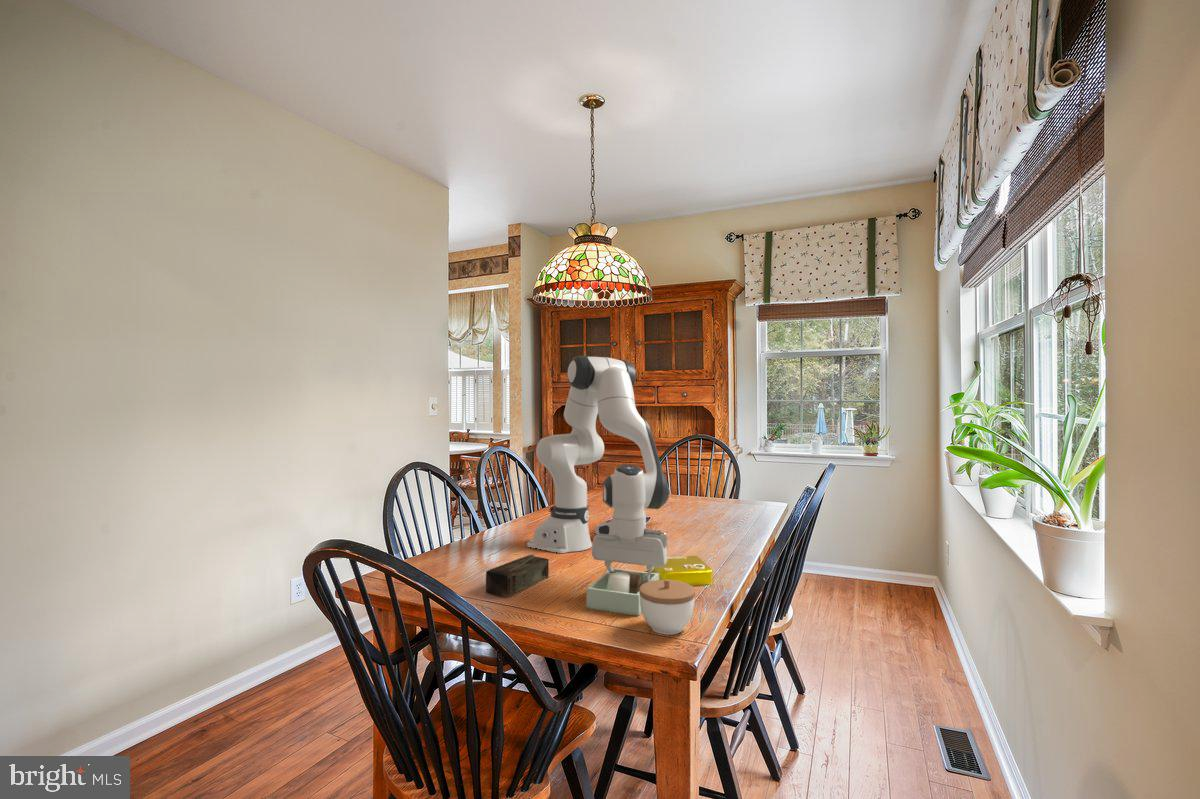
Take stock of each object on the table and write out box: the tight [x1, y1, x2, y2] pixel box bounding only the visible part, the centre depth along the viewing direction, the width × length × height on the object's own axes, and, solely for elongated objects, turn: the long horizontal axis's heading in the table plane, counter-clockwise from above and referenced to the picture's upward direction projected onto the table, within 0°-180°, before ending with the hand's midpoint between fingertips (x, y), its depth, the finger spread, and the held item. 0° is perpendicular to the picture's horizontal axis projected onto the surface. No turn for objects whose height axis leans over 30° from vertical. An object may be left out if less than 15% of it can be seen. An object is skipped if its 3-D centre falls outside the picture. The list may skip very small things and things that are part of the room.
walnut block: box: [622, 569, 641, 594], centre depth 154 cm, size 5×5×5 cm
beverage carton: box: [485, 554, 550, 599], centre depth 162 cm, size 8×19×7 cm, turn 149°
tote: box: [586, 567, 659, 617], centre depth 151 cm, size 14×18×5 cm
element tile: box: [652, 555, 713, 586], centre depth 168 cm, size 15×15×5 cm
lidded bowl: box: [639, 579, 696, 636], centre depth 133 cm, size 13×13×11 cm
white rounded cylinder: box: [609, 572, 630, 593], centre depth 147 cm, size 5×5×7 cm
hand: (629, 579), depth 154 cm, fingers open, 8 cm apart
